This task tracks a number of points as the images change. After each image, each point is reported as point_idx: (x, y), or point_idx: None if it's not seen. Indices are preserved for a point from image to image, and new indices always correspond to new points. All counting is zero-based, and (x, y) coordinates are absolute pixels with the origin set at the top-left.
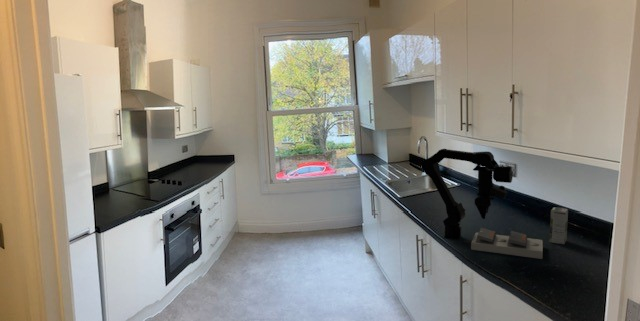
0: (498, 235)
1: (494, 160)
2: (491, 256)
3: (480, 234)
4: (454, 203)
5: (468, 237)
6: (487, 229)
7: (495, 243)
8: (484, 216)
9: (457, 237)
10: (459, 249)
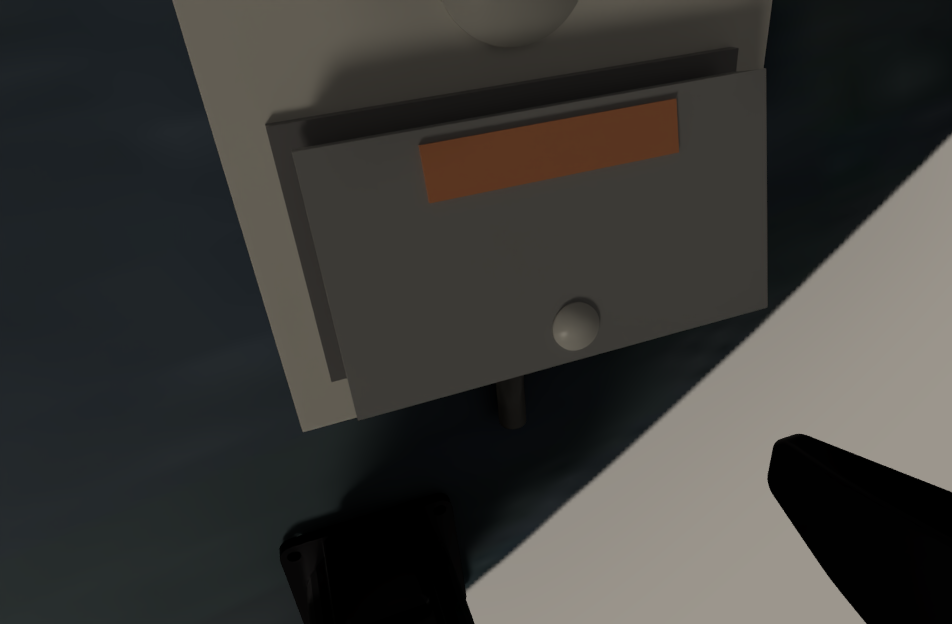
0: (232, 79)
1: None
2: (822, 11)
3: (708, 289)
4: None
5: (298, 453)
6: (343, 303)
7: (681, 24)
8: (875, 480)
9: (422, 519)
10: (708, 360)
